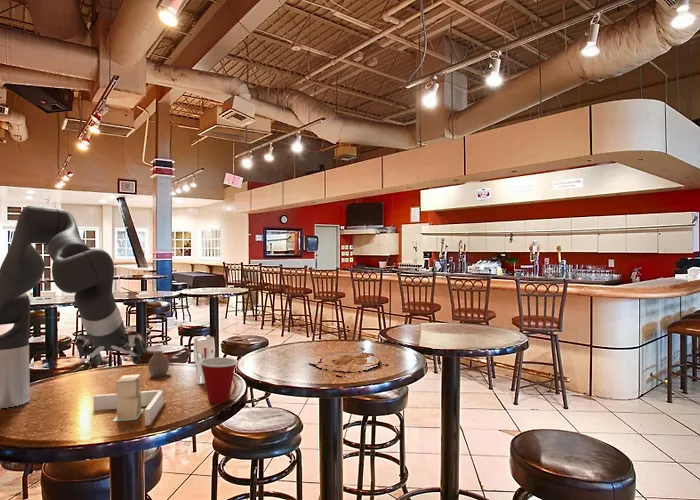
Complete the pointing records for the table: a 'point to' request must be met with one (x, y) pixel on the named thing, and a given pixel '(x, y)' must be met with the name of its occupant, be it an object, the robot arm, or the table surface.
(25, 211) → the robot arm
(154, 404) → the corner arena
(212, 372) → the plastic cup
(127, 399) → the maple block
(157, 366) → the vase
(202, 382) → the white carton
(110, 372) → the table surface
